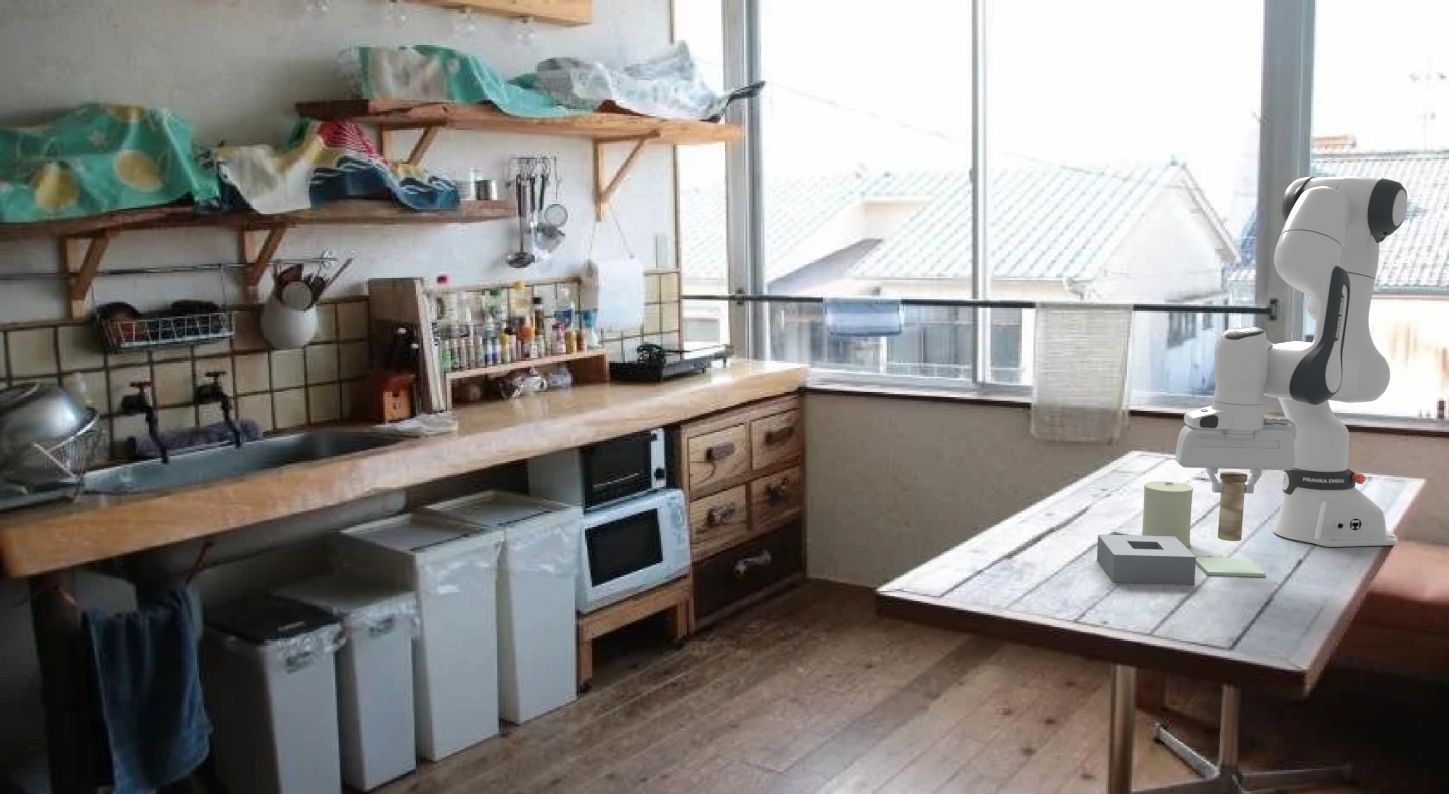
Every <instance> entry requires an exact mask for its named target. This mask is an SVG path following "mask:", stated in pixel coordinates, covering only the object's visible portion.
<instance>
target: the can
mask: <svg viewBox="0 0 1449 794" xmlns="http://www.w3.org/2000/svg"><path fill="white" fill-rule="evenodd" d="M1143 489H1144V490H1143V512H1142V513H1143V514H1142V531H1141V536H1175V537H1176V538H1177V539H1178V540H1179V541H1180V542H1181V543H1182V544H1183V545H1184V546H1185V547H1186V548H1187V549H1188V548H1189V547H1190V546H1191V523H1192V521H1191V519H1192V507H1193V505H1192V503H1193V491H1194V487H1193V486H1191V485H1190V484H1189V485H1188V484H1185V483H1181V482H1175V481H1150V482H1146V483H1144V485H1143Z"/></svg>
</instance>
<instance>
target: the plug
mask: <svg viewBox="0 0 1449 794" xmlns="http://www.w3.org/2000/svg"><path fill="white" fill-rule="evenodd" d="M1219 480H1221V481H1220V482H1222V483H1223V488H1222V489H1223V492H1222V493H1220V496H1219V497H1220V498H1219V499H1220V501H1219V513H1218V515H1219V516H1218V529H1217V530H1218V531H1217V538H1218V539H1219V540H1222V541H1228V542H1239V541H1242V538H1243V537H1242V534H1243V521H1244V507H1245V504H1244V503H1245V494H1246V493H1245V482H1248V474H1247V473H1243V472H1239V471H1221V472H1220V473H1219Z"/></svg>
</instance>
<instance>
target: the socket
mask: <svg viewBox="0 0 1449 794" xmlns="http://www.w3.org/2000/svg"><path fill="white" fill-rule="evenodd" d="M1096 549H1097V550H1096V561H1097V562H1098V564H1099V565H1100V567H1101V568H1102V570H1103V571H1104V572H1105V573H1106V575H1107V577H1109V579H1110V580H1111V582H1112V583H1125V584H1126V583H1130V584H1131V583H1132V584H1134V583H1136V584H1161V585H1162V584H1166V585H1168V584H1169V585H1195V584H1196V583H1195V582H1196V565H1197V564H1196V557H1197V556H1196V555H1195V554H1193V553H1192V551H1191V550H1190V549H1188V547H1187V548H1186V547H1185V546H1184V545H1183V544H1182V543H1181V542H1180V541H1179V540H1178V539H1177V538H1176V537H1175V536H1142V535H1135V534H1134V535H1131V534H1097V548H1096Z"/></svg>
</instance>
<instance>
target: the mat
mask: <svg viewBox="0 0 1449 794" xmlns="http://www.w3.org/2000/svg"><path fill="white" fill-rule="evenodd" d="M1196 565H1197V566H1198V567H1199V568H1200V569H1201V570H1202V571H1203V572H1204V573H1205V574H1206V575H1207V576H1215V577H1217V576H1222V577H1223V576H1224V577H1227V576H1228V577H1256V578H1257V577H1261V578H1266V576H1267V573H1266V572H1265V571H1264V570H1263V569H1261V568H1260V567H1259V566H1257V564H1255V563H1254V562H1253V561H1252V560H1251V559H1249V558H1247V557H1246V558H1245V557H1212V556H1211V557H1209V556H1196Z"/></svg>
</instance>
